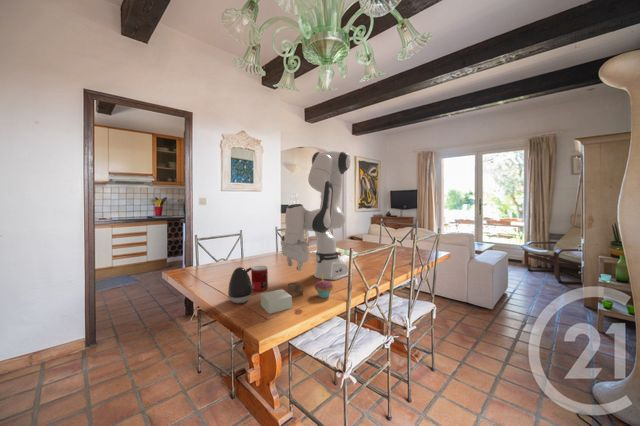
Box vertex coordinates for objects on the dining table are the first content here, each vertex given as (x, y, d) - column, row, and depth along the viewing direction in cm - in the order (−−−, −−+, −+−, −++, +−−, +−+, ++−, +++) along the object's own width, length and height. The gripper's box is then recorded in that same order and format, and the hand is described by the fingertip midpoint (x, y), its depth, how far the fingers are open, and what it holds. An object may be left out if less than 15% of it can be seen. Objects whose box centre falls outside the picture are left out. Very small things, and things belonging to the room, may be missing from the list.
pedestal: (282, 300, 113) (282, 289, 113) (292, 308, 105) (292, 296, 104) (260, 305, 108) (260, 293, 108) (269, 314, 100) (268, 301, 99)
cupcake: (329, 300, 112) (329, 273, 111) (311, 298, 115) (311, 272, 114) (335, 293, 120) (334, 268, 120) (318, 291, 123) (318, 267, 122)
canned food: (264, 292, 123) (263, 270, 122) (248, 291, 124) (248, 269, 124) (270, 287, 130) (269, 265, 130) (255, 286, 132) (255, 265, 131)
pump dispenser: (256, 302, 111) (255, 268, 110) (231, 308, 105) (230, 272, 105) (249, 295, 120) (248, 263, 119) (226, 299, 114) (225, 266, 113)
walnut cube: (297, 291, 123) (297, 281, 123) (302, 295, 119) (302, 284, 119) (288, 293, 121) (288, 283, 121) (293, 297, 117) (292, 286, 116)
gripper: (311, 241, 111) (311, 272, 112) (291, 236, 129) (291, 263, 129) (298, 242, 108) (298, 274, 108) (279, 236, 125) (279, 264, 126)
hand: (294, 268), depth 119 cm, fingers open, 8 cm apart
